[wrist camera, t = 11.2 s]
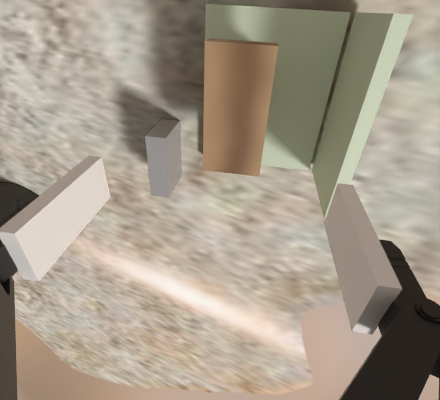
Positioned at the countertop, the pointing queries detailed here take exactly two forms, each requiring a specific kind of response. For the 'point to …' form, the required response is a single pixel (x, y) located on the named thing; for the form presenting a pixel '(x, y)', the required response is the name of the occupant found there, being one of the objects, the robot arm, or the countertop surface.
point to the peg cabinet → (318, 82)
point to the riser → (164, 157)
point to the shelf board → (236, 103)
